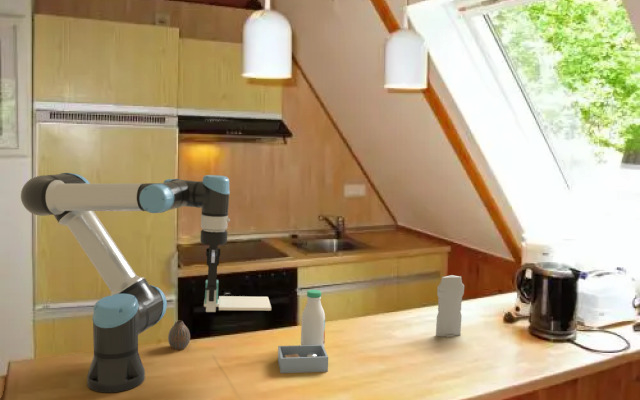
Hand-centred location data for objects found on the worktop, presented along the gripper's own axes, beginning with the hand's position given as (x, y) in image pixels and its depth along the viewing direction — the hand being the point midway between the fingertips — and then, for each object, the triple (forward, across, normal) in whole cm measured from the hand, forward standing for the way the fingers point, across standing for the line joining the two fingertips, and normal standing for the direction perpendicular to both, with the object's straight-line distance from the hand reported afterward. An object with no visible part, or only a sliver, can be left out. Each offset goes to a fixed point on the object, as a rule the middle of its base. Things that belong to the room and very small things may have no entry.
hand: (210, 308), depth 165 cm
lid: (-1, 0, -7) cm, 8 cm away
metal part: (+17, 0, -31) cm, 36 cm away
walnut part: (+18, -1, -25) cm, 31 cm away
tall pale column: (+17, +22, -84) cm, 89 cm away
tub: (+18, 0, -28) cm, 33 cm away
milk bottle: (+18, +12, -33) cm, 40 cm away
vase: (+20, +20, +10) cm, 29 cm away
